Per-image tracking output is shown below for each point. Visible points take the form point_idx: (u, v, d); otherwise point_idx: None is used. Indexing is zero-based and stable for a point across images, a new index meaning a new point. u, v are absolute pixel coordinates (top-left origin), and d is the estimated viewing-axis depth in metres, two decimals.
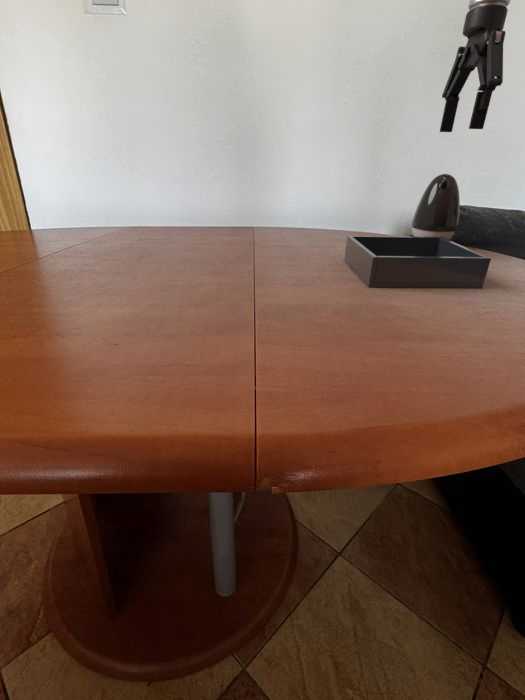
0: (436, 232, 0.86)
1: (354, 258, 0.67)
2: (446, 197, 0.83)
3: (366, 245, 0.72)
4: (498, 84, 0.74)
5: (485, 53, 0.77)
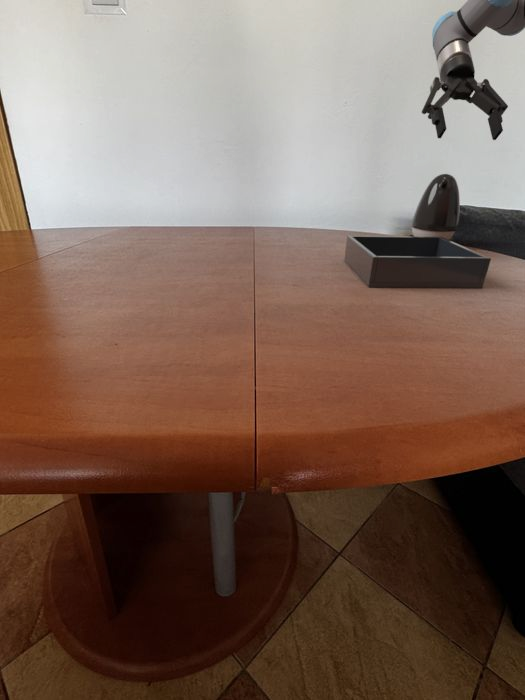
0: (436, 232, 0.86)
1: (354, 258, 0.67)
2: (446, 197, 0.83)
3: (366, 245, 0.72)
4: (426, 106, 0.90)
5: None
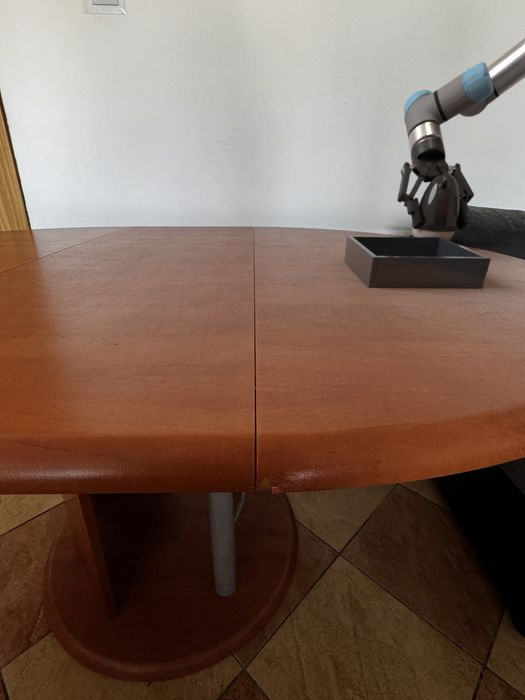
0: (436, 232, 0.86)
1: (354, 258, 0.67)
2: (446, 197, 0.83)
3: (366, 245, 0.72)
4: (402, 196, 0.88)
5: (419, 173, 0.90)
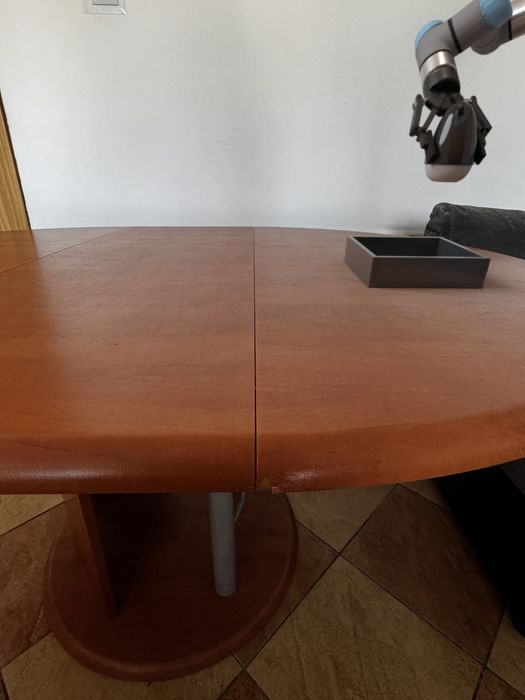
0: (452, 166, 0.79)
1: (354, 258, 0.67)
2: (463, 125, 0.76)
3: (366, 245, 0.72)
4: (414, 129, 0.81)
5: (432, 106, 0.84)
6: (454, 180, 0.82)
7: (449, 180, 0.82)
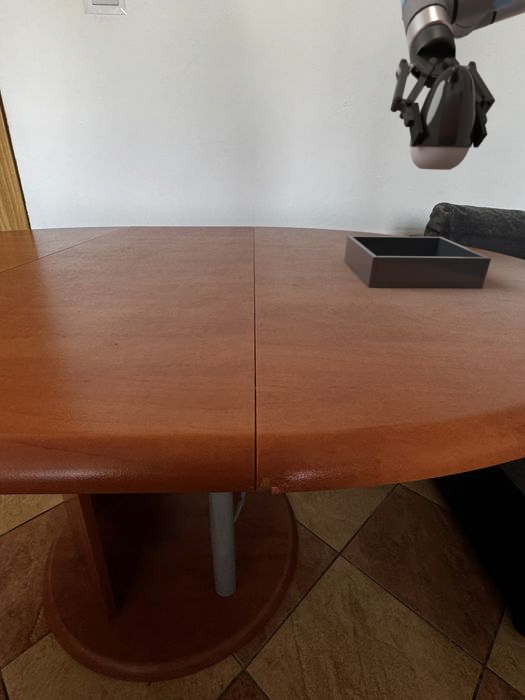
0: (443, 148, 0.62)
1: (354, 258, 0.67)
2: (457, 95, 0.60)
3: (366, 245, 0.72)
4: (396, 101, 0.64)
5: (420, 74, 0.67)
6: (446, 167, 0.65)
7: (440, 167, 0.65)
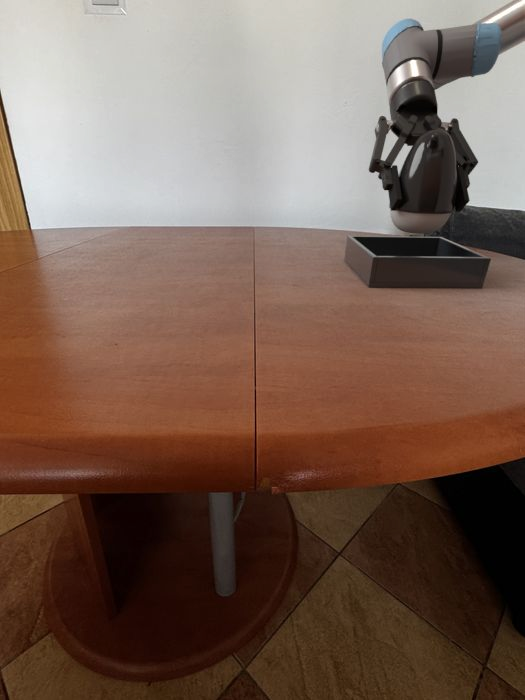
0: (423, 215, 0.59)
1: (354, 258, 0.67)
2: (437, 162, 0.56)
3: (366, 245, 0.72)
4: (374, 163, 0.61)
5: (400, 132, 0.64)
6: (427, 231, 0.62)
7: (421, 231, 0.62)
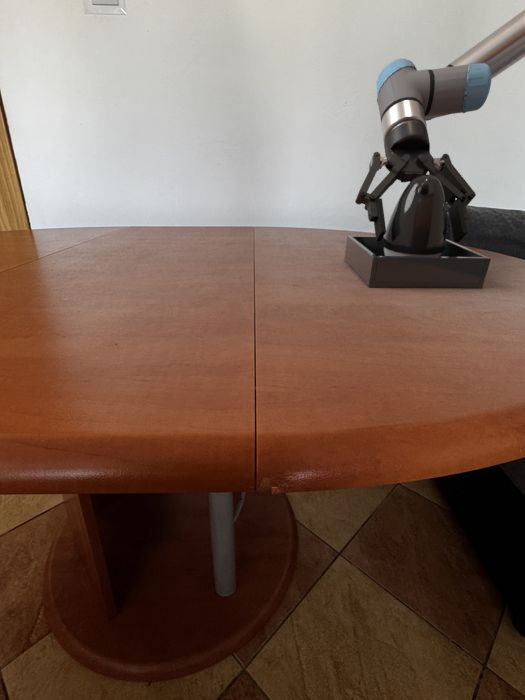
0: (414, 255, 0.62)
1: (354, 258, 0.67)
2: (427, 207, 0.59)
3: (366, 245, 0.72)
4: (360, 196, 0.64)
5: None
6: None
7: None
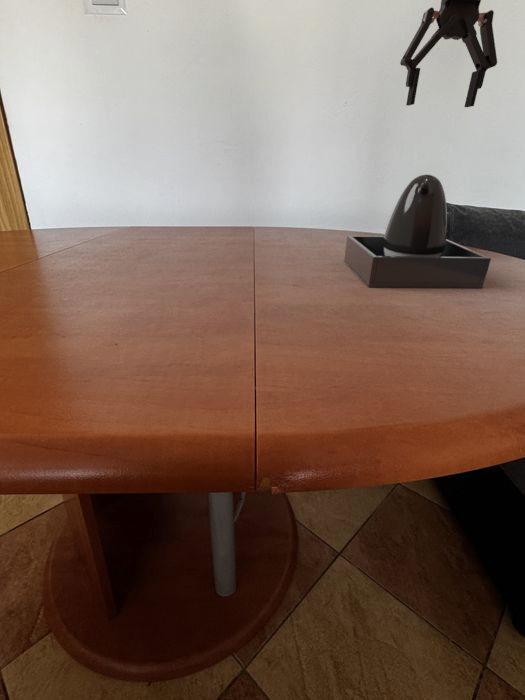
0: (414, 255, 0.62)
1: (354, 258, 0.67)
2: (427, 206, 0.59)
3: (366, 245, 0.72)
4: (404, 62, 0.80)
5: (441, 27, 0.78)
6: None
7: None
